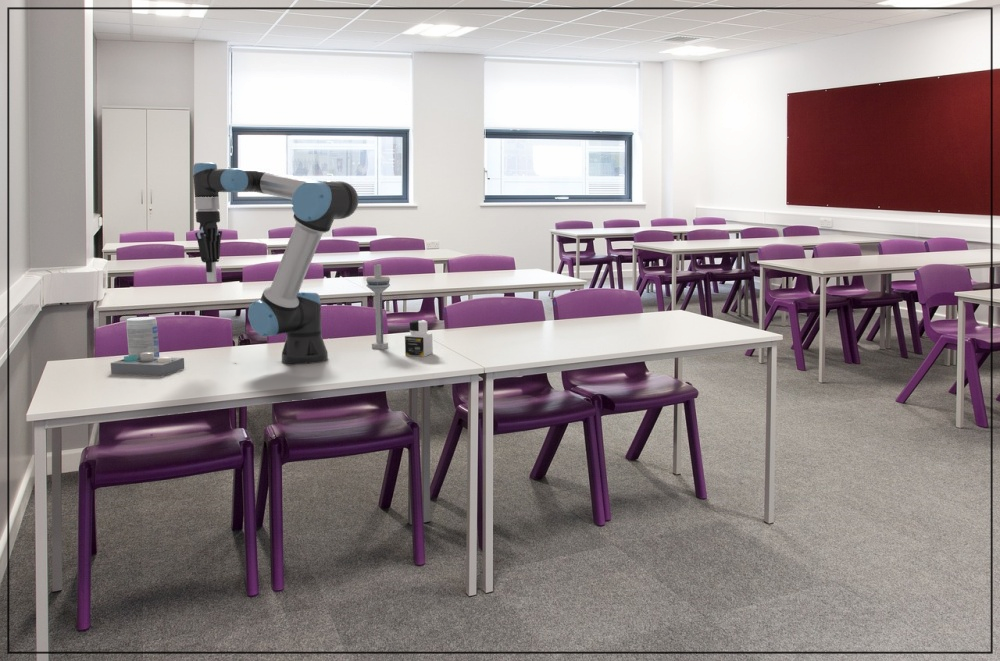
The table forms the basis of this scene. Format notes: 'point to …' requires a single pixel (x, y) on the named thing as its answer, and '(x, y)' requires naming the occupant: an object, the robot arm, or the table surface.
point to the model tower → (378, 303)
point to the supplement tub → (142, 335)
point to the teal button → (131, 358)
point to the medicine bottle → (418, 340)
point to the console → (147, 367)
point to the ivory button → (164, 359)
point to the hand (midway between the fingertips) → (211, 281)
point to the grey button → (147, 357)
